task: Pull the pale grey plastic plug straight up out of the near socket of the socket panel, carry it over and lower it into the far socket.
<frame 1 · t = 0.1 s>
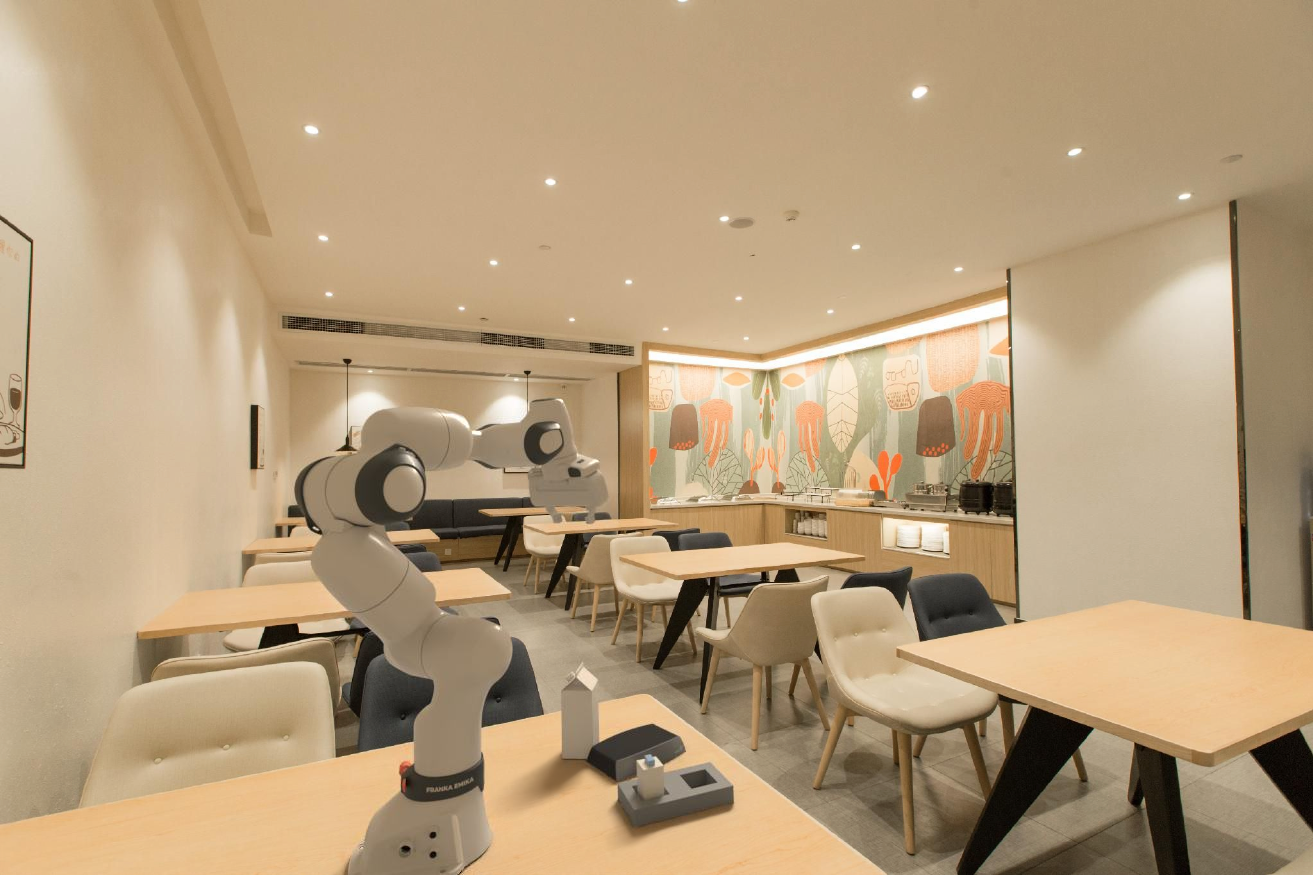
hand: (574, 522, 136), 52 cm above the table, tool tilted 20°, fingers open, 8 cm apart
milk carton: (581, 753, 133), on the table
socket panel: (675, 800, 112), on the table
plug: (651, 806, 111), resting in socket panel
external hard drive: (637, 759, 131), on the table
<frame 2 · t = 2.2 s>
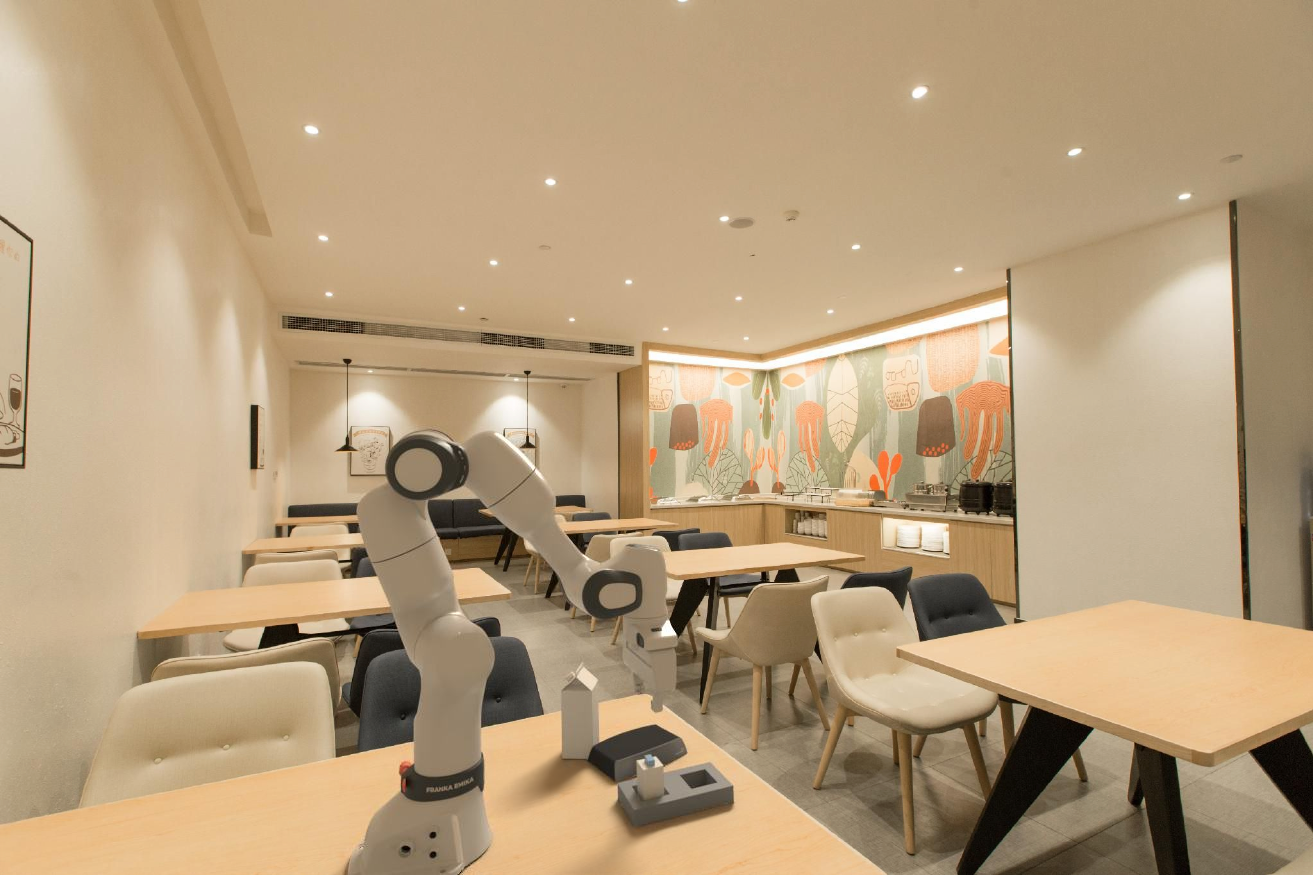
hand: (647, 701, 112), 19 cm above the table, tool pointing down, fingers open, 8 cm apart
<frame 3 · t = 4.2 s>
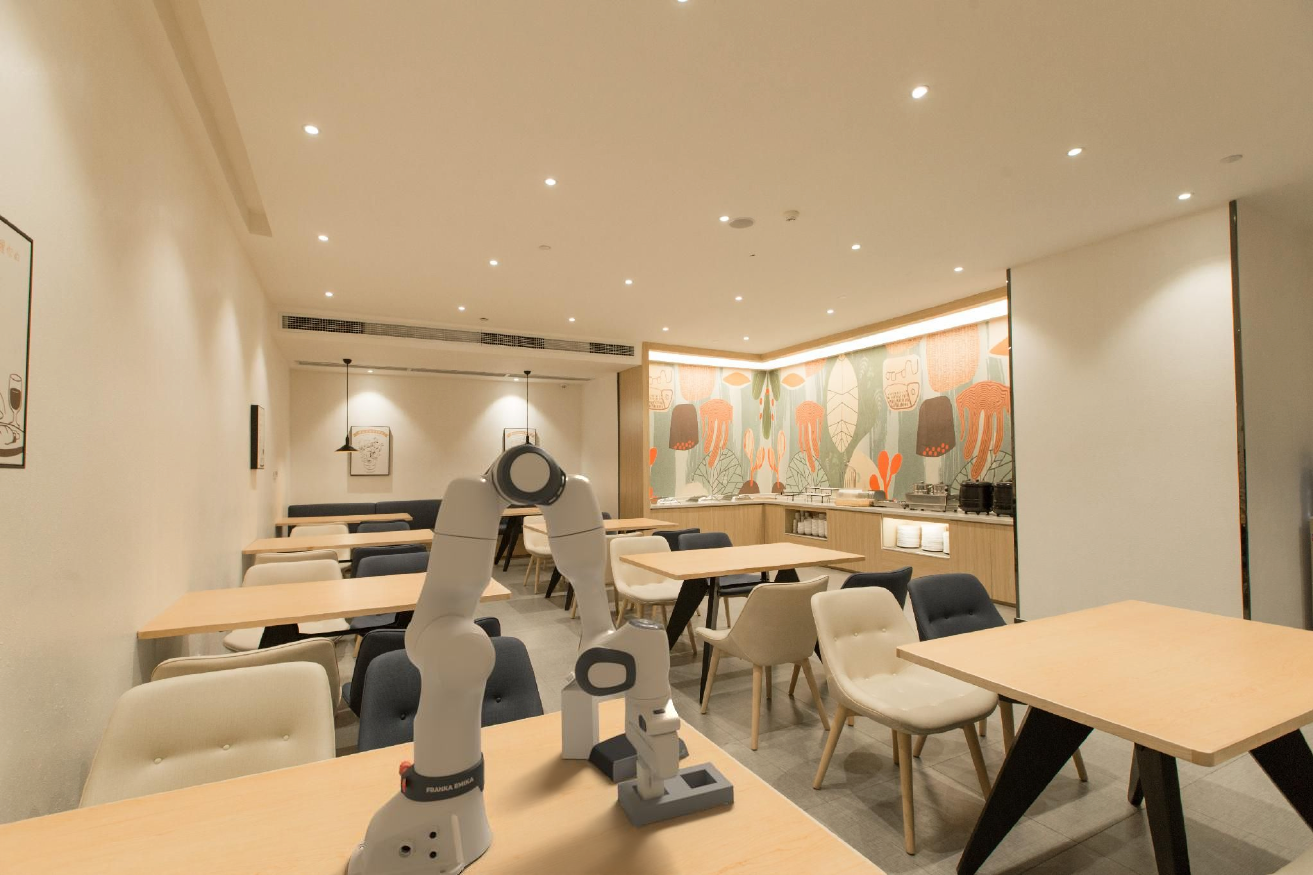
hand: (650, 781, 111), 5 cm above the table, tool pointing down, fingers closed on plug, 4 cm apart
plug: (651, 806, 111), resting in socket panel, touching gripper
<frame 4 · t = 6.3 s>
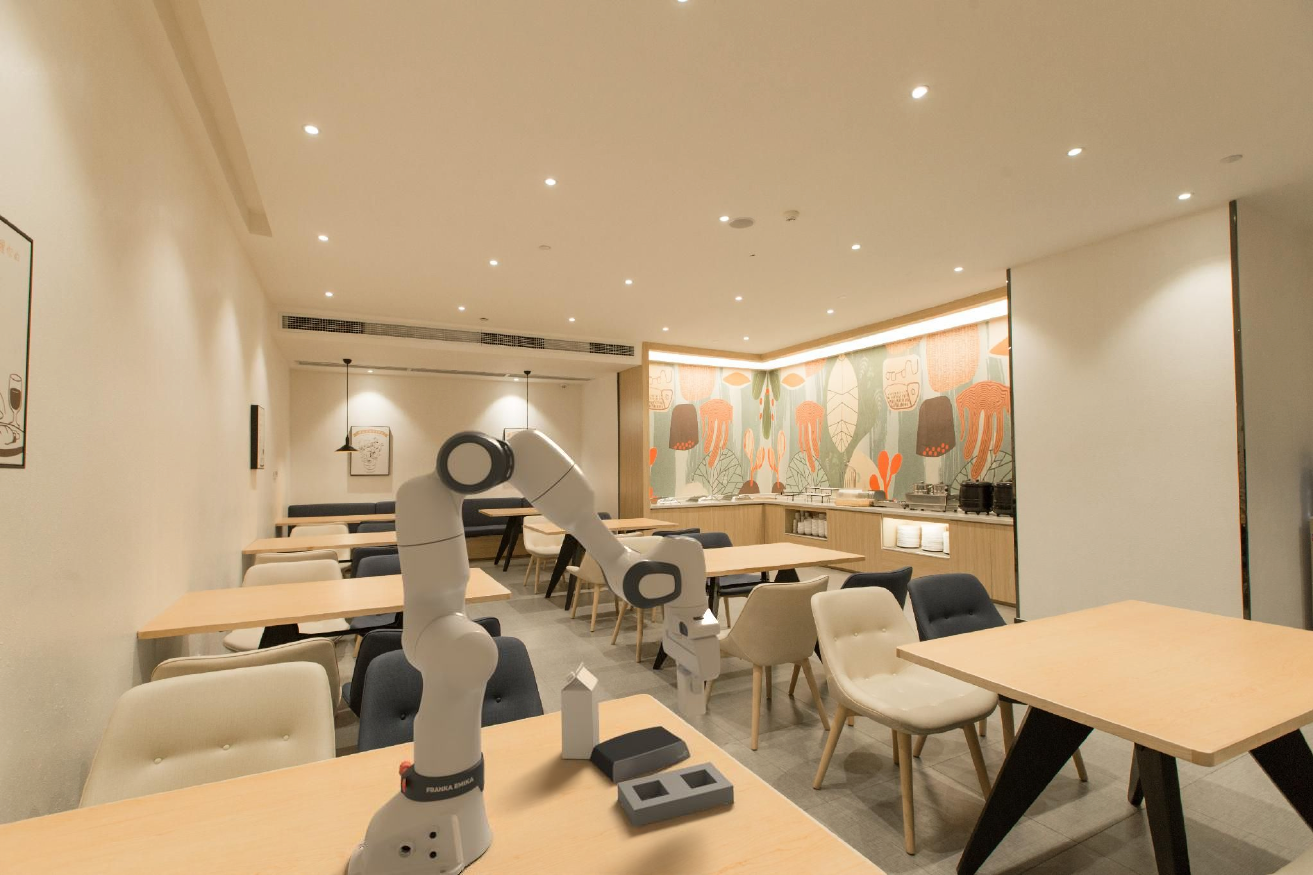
hand: (690, 688, 115), 21 cm above the table, tool pointing down, fingers closed on plug, 4 cm apart
plug: (692, 712, 115), point 16 cm above the table, touching gripper
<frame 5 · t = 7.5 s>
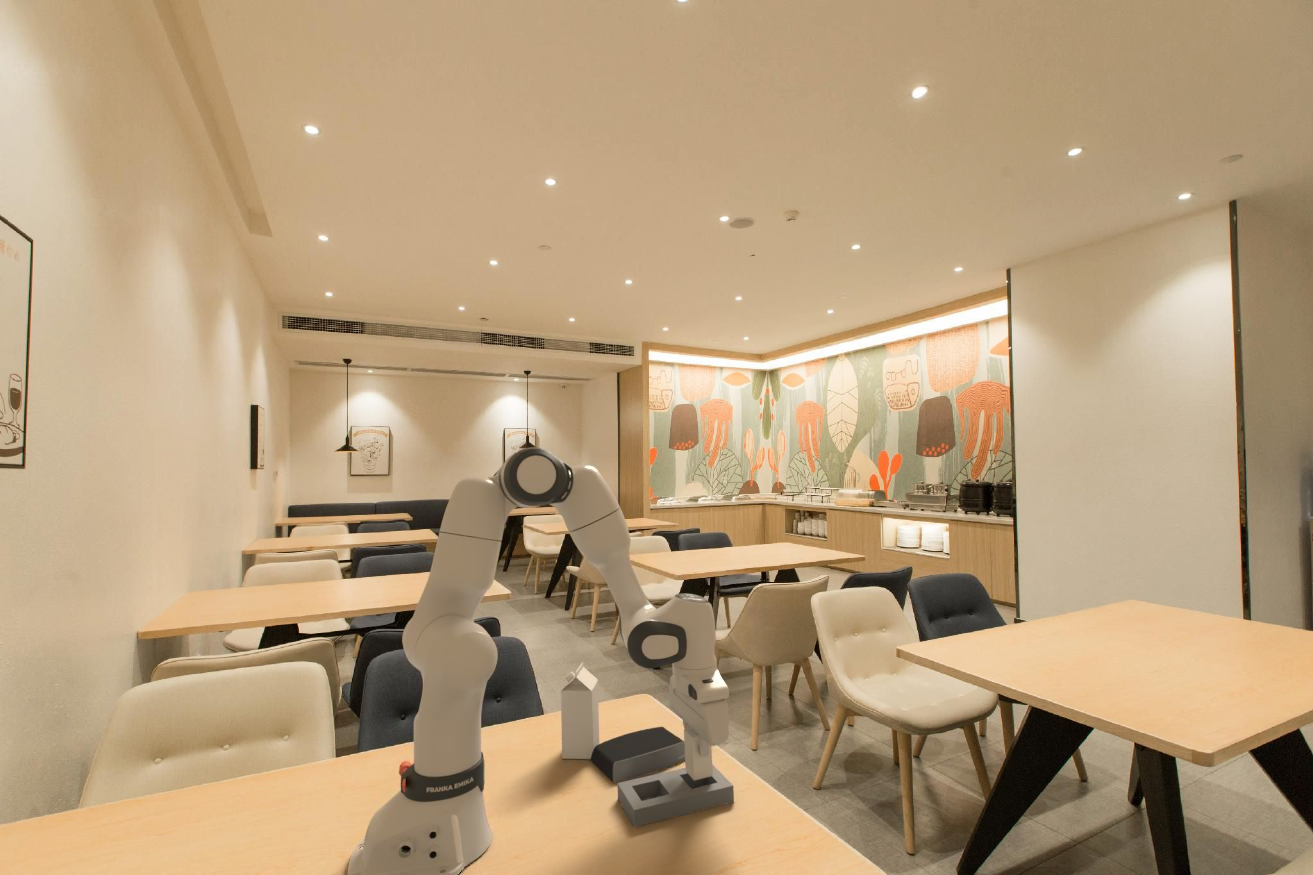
hand: (697, 749, 115), 9 cm above the table, tool pointing down, fingers closed on plug, 4 cm apart
plug: (698, 773, 115), point 4 cm above the table, touching gripper
when the fingers open (5 cm above the table, at t = 8.5 s): plug stays where it is, resting in socket panel.
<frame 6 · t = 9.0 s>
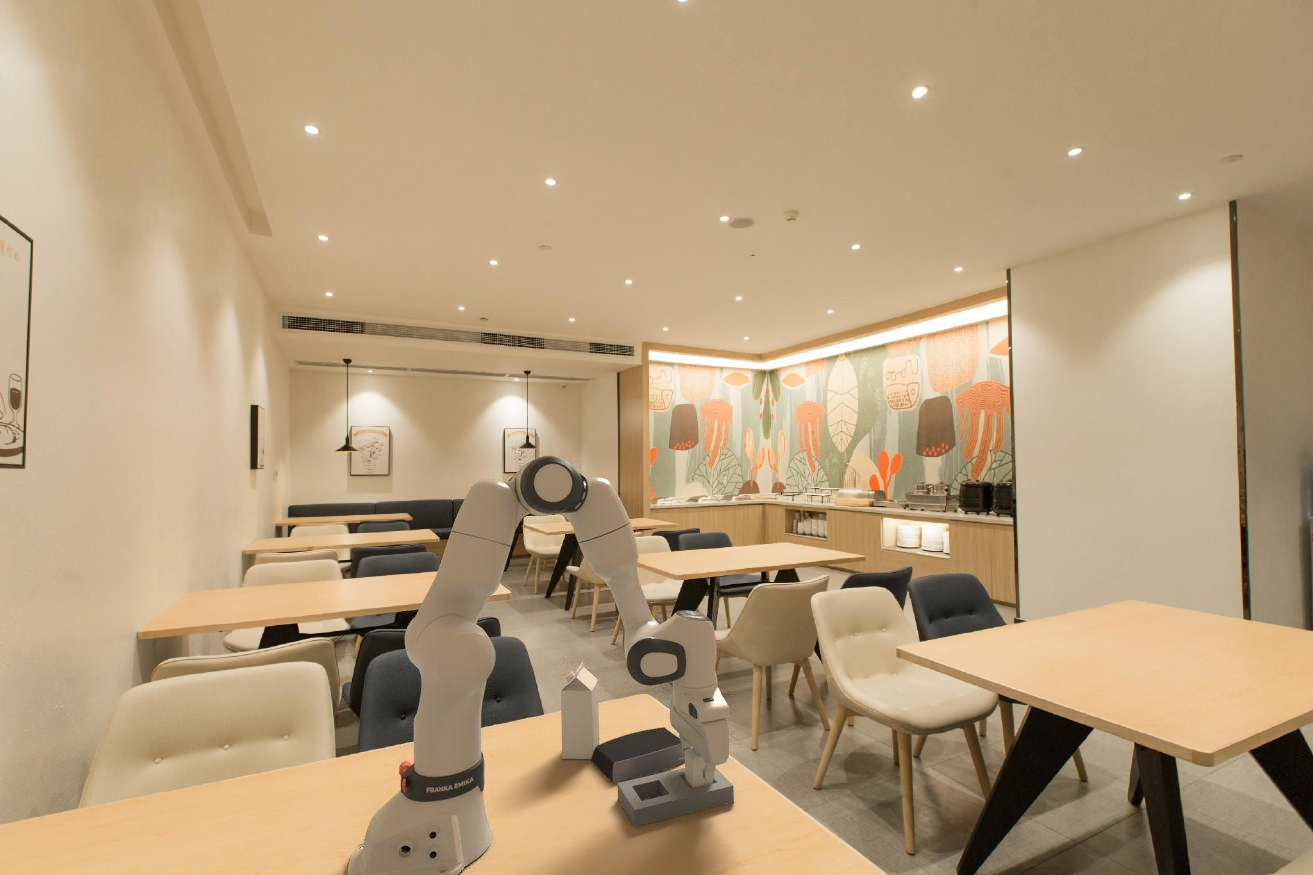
hand: (697, 767, 114), 5 cm above the table, tool pointing down, fingers open, 8 cm apart
plug: (699, 794, 114), resting in socket panel
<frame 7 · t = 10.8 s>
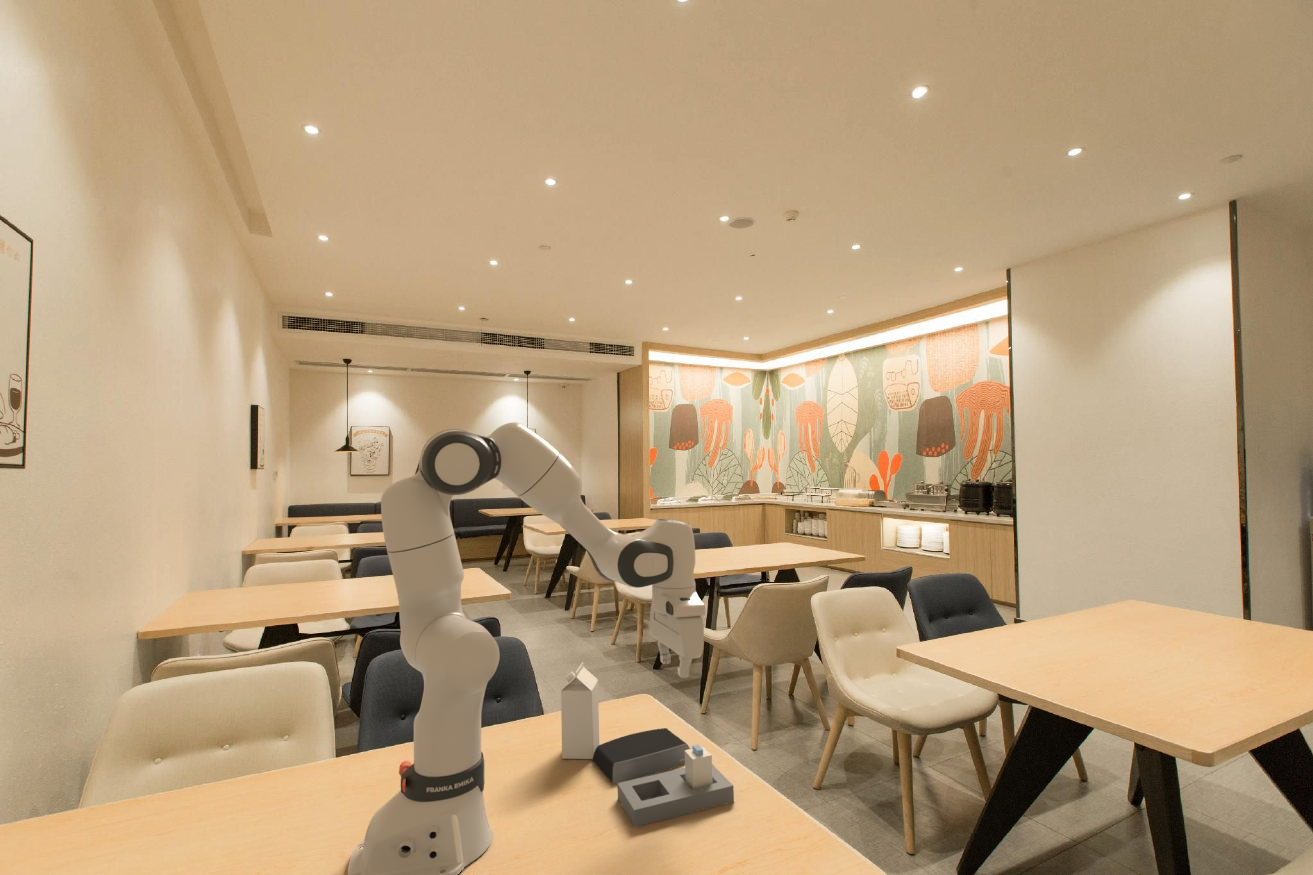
hand: (674, 669, 117), 23 cm above the table, tool pointing down, fingers open, 8 cm apart
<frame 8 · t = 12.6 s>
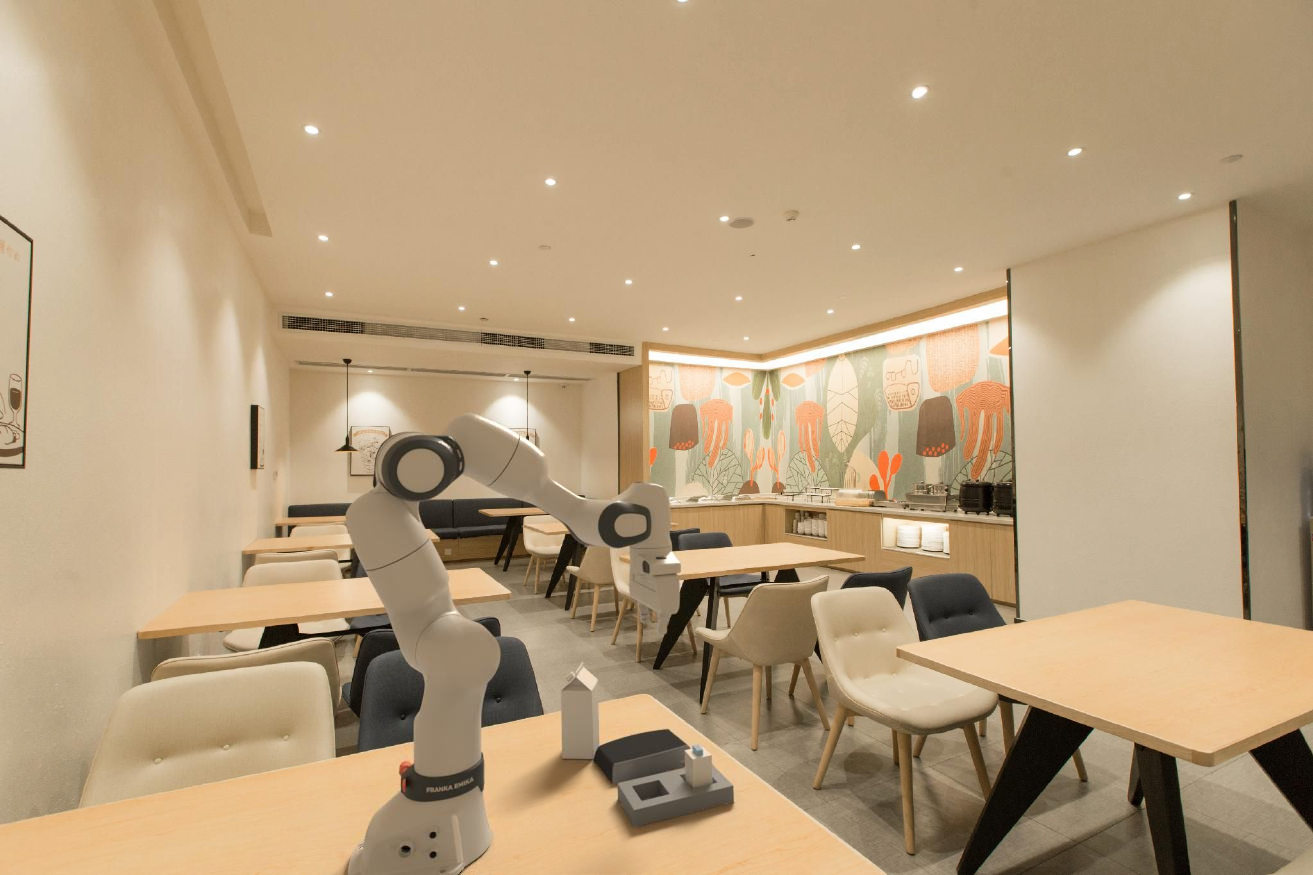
hand: (653, 627, 120), 31 cm above the table, tool pointing down, fingers open, 8 cm apart
at the end: plug 0.1 cm from the target spot on the socket panel, point 0.0 cm above the socket panel's base; plug tilted 0°; the gripper is holding nothing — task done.
